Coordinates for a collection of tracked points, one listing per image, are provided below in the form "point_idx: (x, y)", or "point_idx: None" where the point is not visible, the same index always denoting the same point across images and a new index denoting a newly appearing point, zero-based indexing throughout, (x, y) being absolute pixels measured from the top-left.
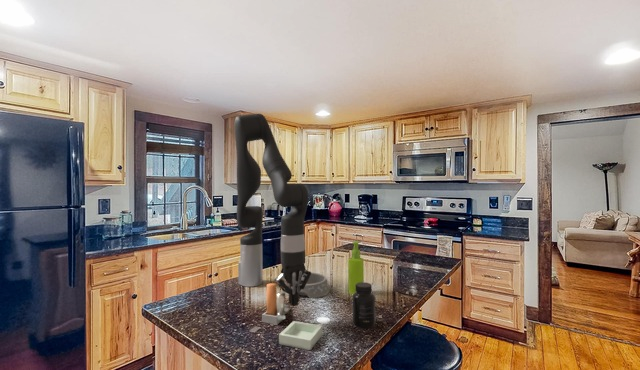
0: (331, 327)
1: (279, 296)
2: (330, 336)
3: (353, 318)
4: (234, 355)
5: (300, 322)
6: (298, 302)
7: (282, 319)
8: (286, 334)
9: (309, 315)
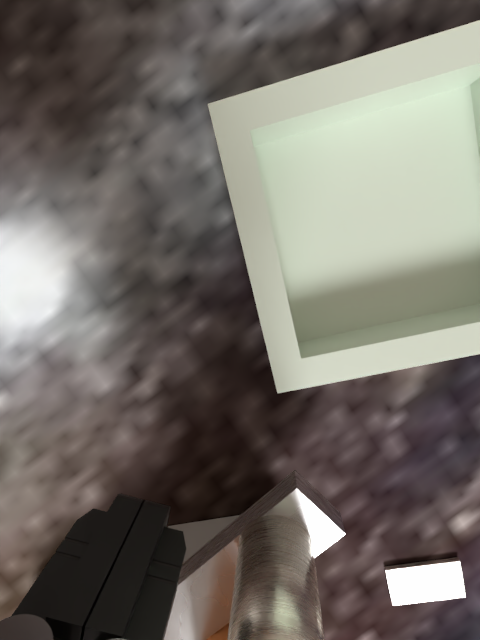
0: (80, 141)
1: None
2: (209, 52)
3: None
4: None
5: (271, 322)
6: (92, 509)
7: (202, 522)
8: None
9: (28, 406)
